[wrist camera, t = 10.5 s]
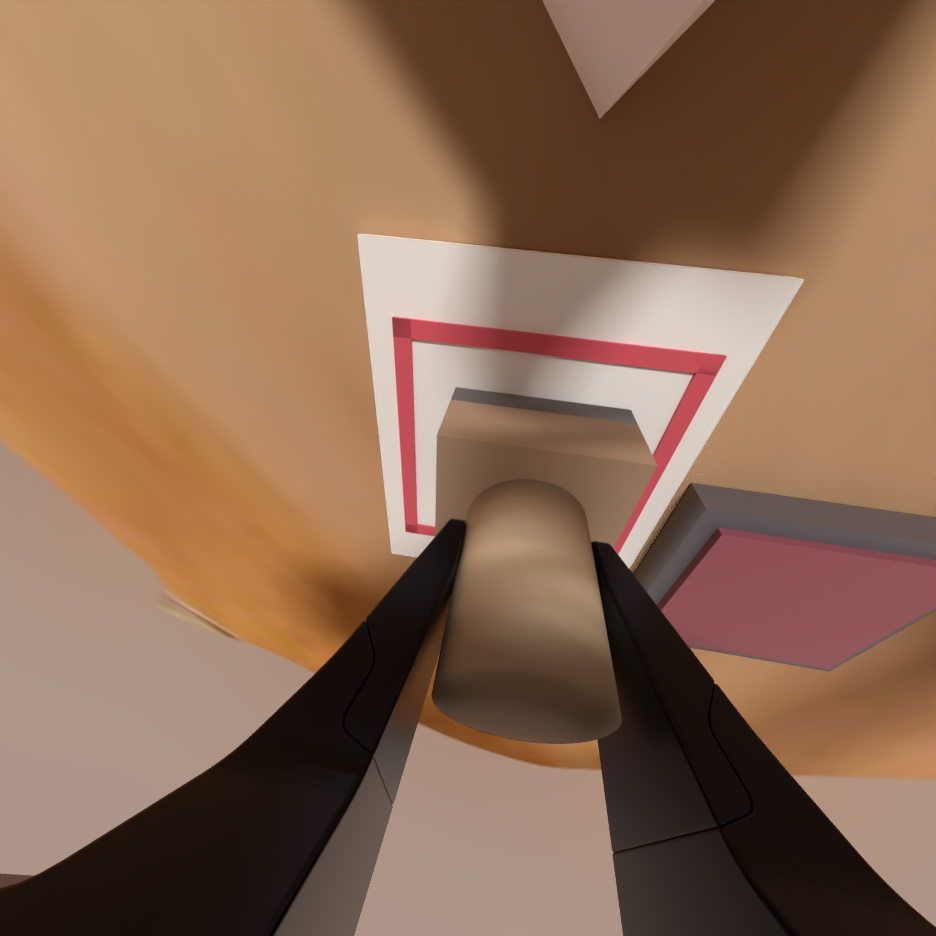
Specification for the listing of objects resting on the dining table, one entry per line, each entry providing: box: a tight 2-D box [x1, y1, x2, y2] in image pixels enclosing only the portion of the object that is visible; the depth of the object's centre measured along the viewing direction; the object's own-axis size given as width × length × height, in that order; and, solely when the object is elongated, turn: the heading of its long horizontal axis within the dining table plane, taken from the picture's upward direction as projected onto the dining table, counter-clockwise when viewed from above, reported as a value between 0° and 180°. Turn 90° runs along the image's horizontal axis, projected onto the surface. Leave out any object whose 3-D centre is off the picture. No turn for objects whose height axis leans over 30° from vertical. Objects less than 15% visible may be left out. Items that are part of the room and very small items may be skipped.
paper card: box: [357, 234, 804, 568], centre depth 12 cm, size 10×12×1 cm
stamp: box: [432, 387, 657, 744], centre depth 9 cm, size 5×5×7 cm
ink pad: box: [634, 483, 936, 671], centre depth 13 cm, size 9×8×2 cm
